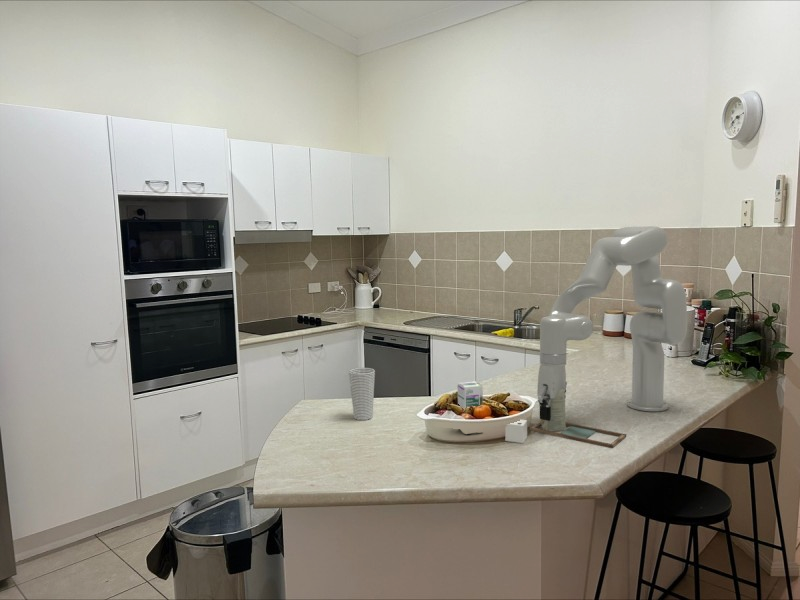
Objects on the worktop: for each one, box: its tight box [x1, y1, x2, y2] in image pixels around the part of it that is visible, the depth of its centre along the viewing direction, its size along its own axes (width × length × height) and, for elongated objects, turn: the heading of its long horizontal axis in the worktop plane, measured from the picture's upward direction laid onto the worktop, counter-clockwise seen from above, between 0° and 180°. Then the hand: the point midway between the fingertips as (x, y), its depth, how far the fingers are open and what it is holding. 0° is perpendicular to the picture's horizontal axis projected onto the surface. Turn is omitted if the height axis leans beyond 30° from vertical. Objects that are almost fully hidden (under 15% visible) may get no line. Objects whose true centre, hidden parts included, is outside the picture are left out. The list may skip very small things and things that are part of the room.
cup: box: [348, 367, 376, 421], centre depth 186 cm, size 8×8×16 cm
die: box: [504, 419, 528, 444], centre depth 163 cm, size 5×5×5 cm
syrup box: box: [456, 380, 484, 409], centre depth 170 cm, size 6×6×14 cm
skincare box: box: [540, 389, 566, 432], centre depth 171 cm, size 6×4×12 cm
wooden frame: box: [530, 421, 627, 449], centre depth 167 cm, size 11×24×1 cm, turn 50°
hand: (552, 415), depth 171 cm, fingers open, 9 cm apart
